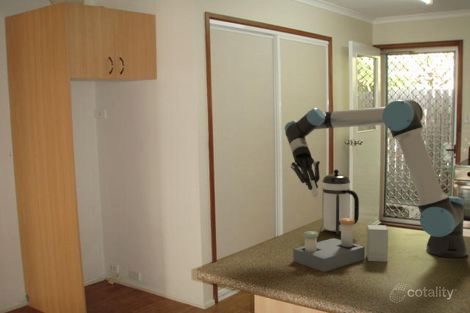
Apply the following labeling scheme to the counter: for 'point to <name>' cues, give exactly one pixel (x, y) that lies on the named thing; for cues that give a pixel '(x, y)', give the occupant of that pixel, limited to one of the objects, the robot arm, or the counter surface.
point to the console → (329, 255)
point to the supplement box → (377, 243)
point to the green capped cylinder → (310, 241)
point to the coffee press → (337, 201)
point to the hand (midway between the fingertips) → (315, 195)
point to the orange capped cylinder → (347, 232)
